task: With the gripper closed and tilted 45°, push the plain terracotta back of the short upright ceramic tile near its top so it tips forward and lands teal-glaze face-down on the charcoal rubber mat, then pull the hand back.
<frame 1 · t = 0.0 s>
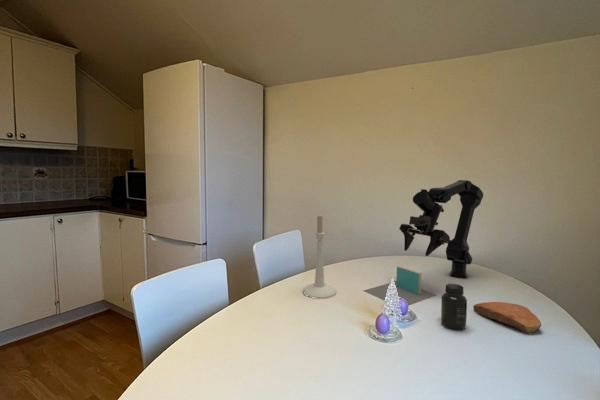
hand: (415, 252, 119), 15 cm above the table, fingers open, 9 cm apart
candlestick: (319, 292, 119), on the table
ceramic shard: (508, 323, 96), on the table
supplement bottle: (453, 325, 94), on the table
tile: (408, 290, 120), resting on mat
mat: (399, 294, 117), on the table
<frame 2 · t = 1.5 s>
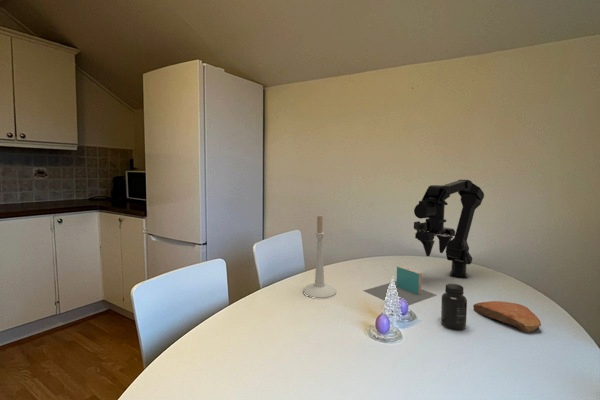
hand: (434, 254, 127), 12 cm above the table, fingers open, 9 cm apart
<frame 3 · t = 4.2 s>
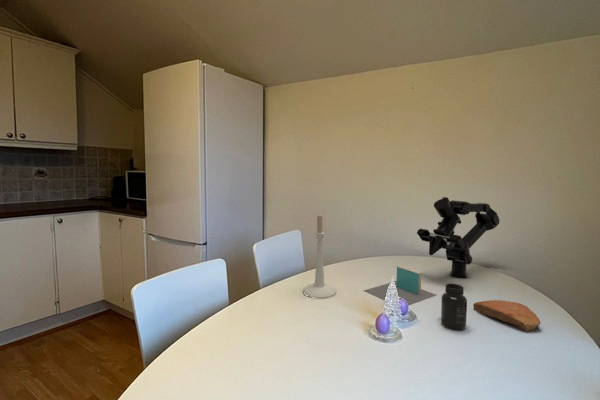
hand: (430, 254, 126), 12 cm above the table, fingers closed
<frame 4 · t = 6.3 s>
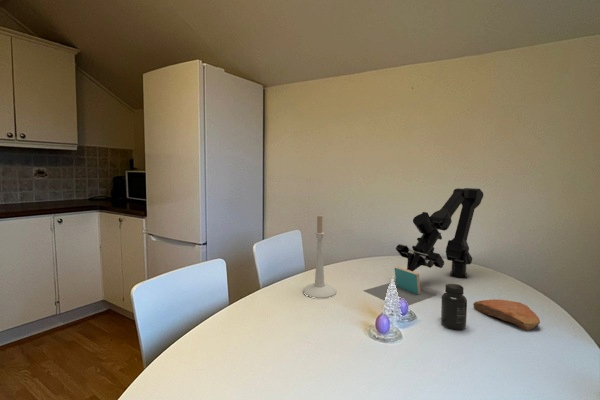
hand: (408, 272, 119), 7 cm above the table, fingers closed
tile: (408, 289, 120), point 1 cm above the table, tilted 11°, touching mat
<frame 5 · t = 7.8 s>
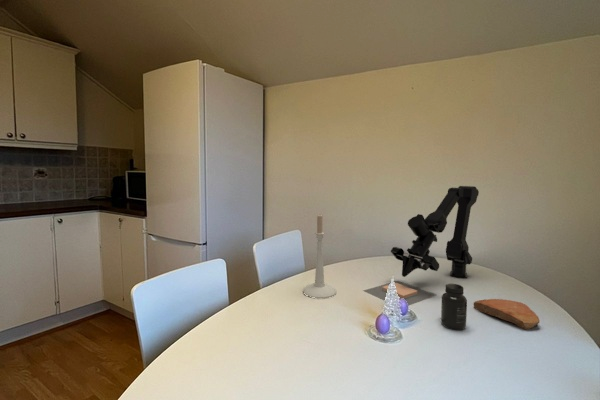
hand: (403, 276, 117), 7 cm above the table, fingers closed
tile: (406, 288, 119), point 1 cm above the table, tilted 90°, touching mat
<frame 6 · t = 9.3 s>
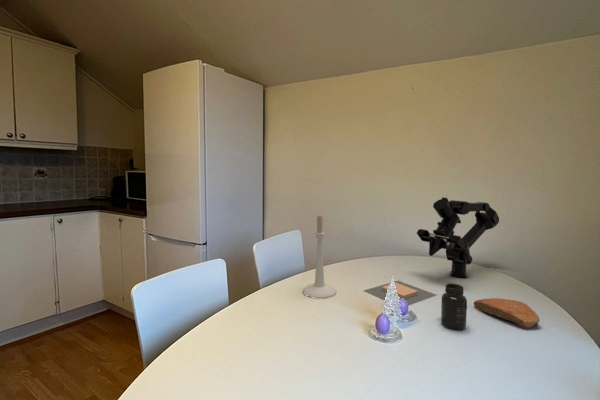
hand: (430, 255, 126), 12 cm above the table, fingers closed
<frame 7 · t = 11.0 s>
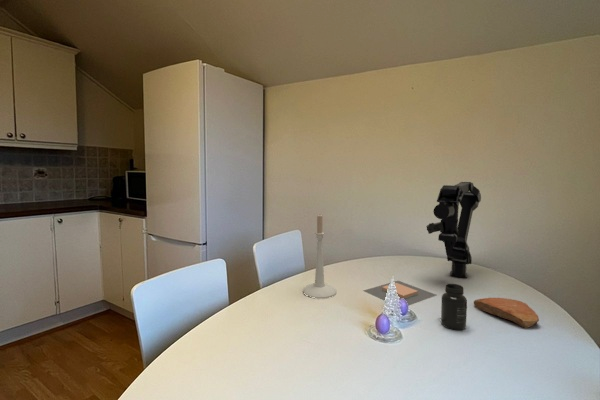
hand: (448, 255, 126), 12 cm above the table, fingers closed
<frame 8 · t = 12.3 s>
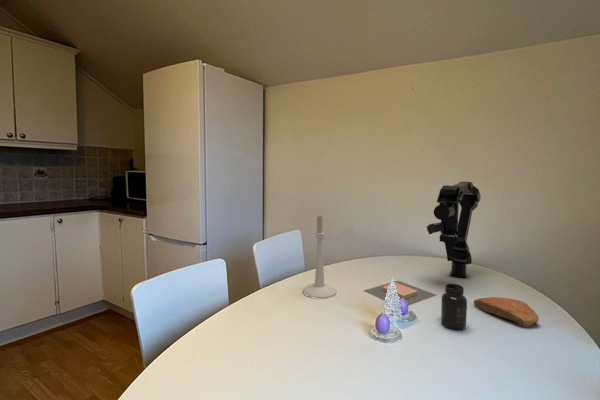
hand: (448, 255, 126), 12 cm above the table, fingers closed
at the end: tile tilted 90°; tile touching mat; tile inside the target area on the mat (0.5 cm from its centre), point 1.2 cm above the mat's base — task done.
